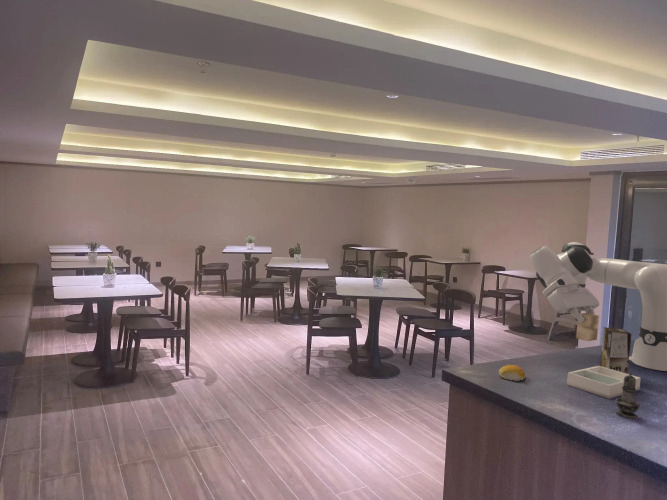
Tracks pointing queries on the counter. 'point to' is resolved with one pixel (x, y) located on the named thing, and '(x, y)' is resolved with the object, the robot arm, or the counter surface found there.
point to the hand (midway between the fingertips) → (589, 320)
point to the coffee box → (615, 349)
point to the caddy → (600, 381)
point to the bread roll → (512, 373)
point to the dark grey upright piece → (628, 399)
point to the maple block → (588, 327)
